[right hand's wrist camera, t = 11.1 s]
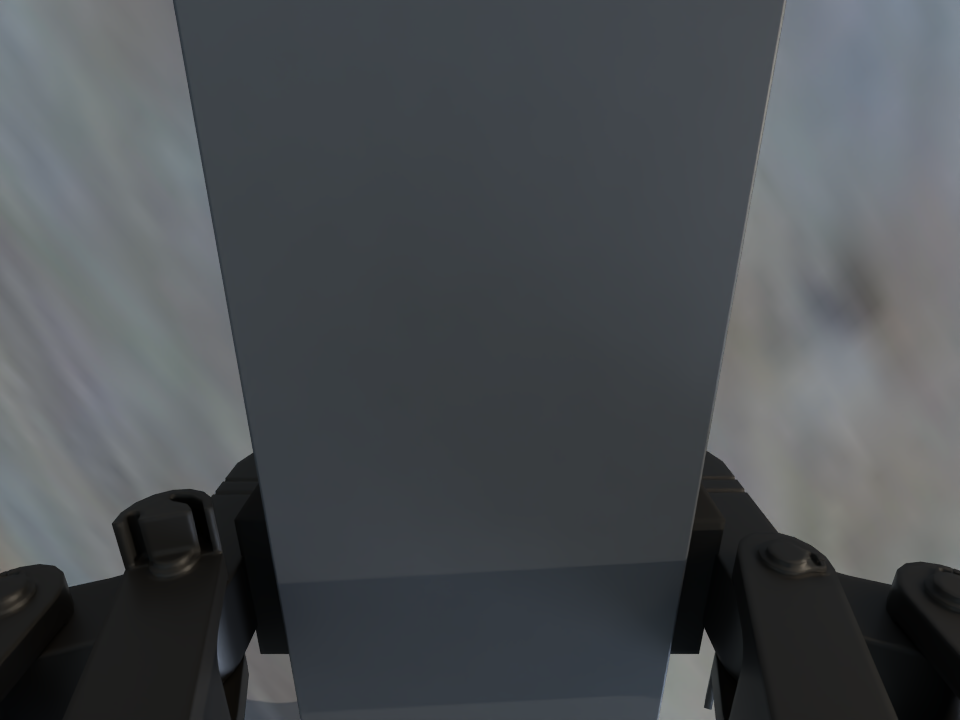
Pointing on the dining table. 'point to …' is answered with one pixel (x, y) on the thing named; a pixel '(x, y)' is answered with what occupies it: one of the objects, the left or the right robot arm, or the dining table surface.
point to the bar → (479, 328)
